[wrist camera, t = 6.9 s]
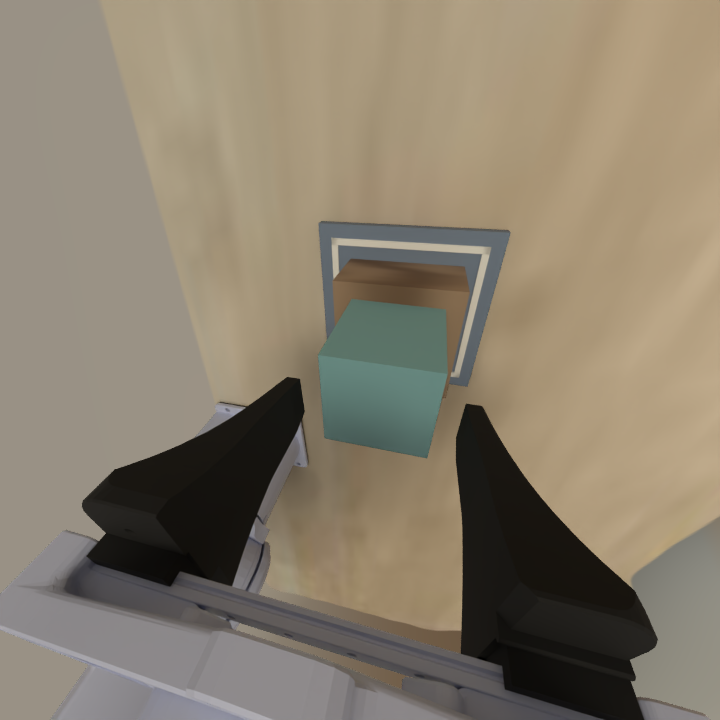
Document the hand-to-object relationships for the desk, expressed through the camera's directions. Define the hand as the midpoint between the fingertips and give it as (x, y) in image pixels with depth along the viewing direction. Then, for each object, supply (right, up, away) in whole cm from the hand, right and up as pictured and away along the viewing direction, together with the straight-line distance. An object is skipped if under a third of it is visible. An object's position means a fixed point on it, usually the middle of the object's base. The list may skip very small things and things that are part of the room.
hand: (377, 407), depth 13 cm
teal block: (+1, +3, +4) cm, 5 cm away
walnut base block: (+2, +5, +7) cm, 9 cm away
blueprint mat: (+2, +6, +8) cm, 10 cm away
